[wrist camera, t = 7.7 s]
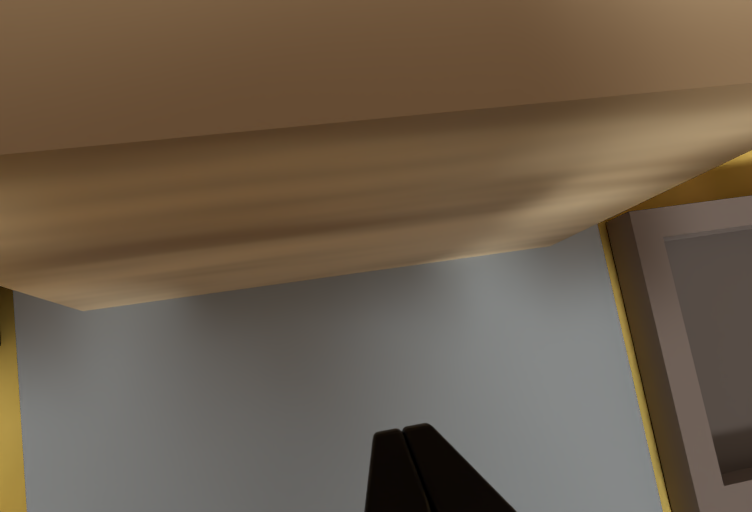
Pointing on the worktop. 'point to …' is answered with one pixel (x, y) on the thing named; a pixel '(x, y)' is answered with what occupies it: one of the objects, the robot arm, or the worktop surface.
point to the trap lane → (411, 379)
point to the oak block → (342, 133)
